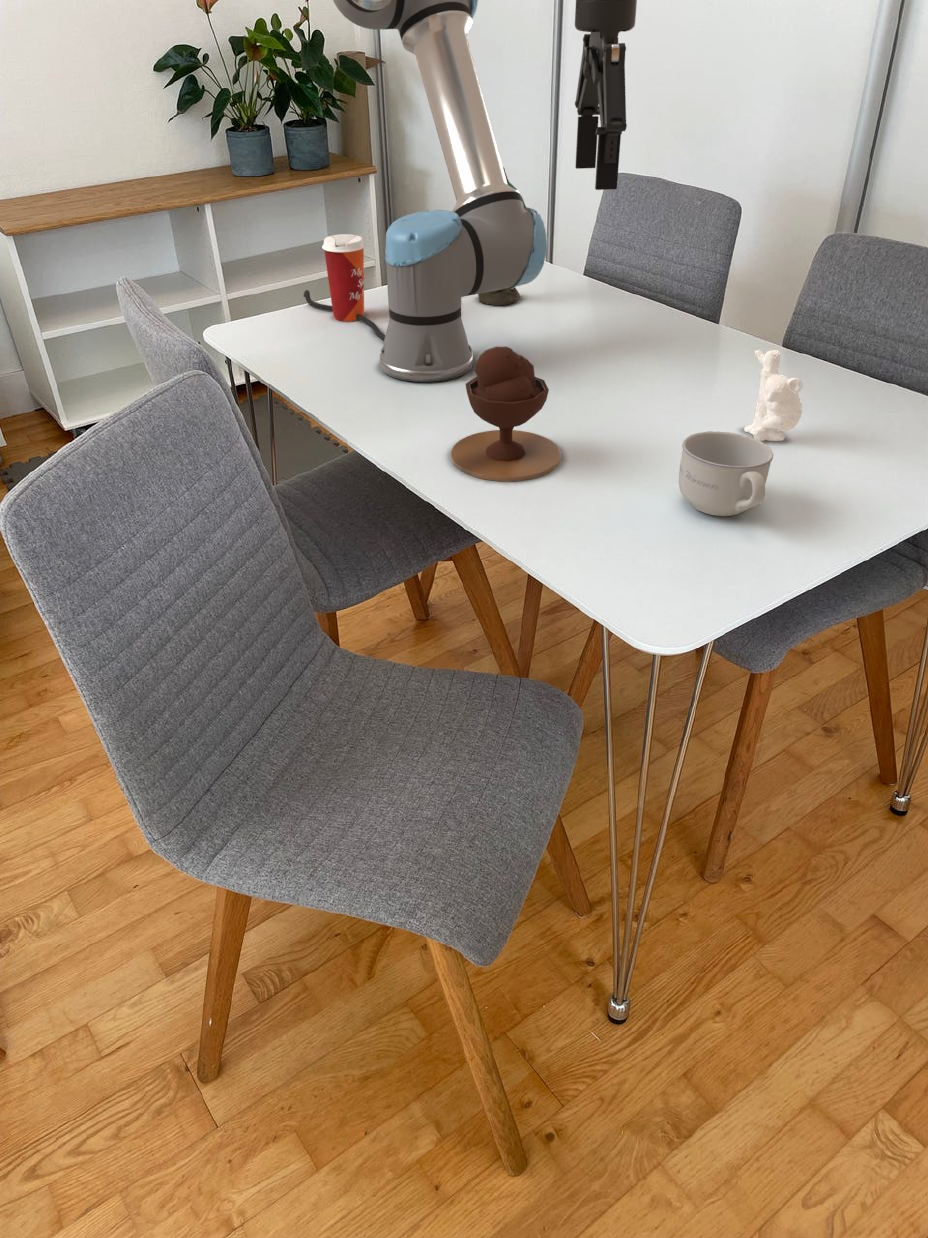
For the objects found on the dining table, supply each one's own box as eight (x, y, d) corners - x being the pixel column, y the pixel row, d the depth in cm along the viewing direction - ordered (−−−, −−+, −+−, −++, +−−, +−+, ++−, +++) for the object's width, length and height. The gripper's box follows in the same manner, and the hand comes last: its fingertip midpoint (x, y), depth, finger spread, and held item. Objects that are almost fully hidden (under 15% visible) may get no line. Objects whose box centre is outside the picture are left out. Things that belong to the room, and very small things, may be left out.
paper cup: (367, 323, 184) (362, 244, 176) (325, 323, 184) (318, 244, 176) (371, 309, 190) (366, 232, 182) (330, 309, 191) (324, 232, 183)
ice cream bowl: (540, 473, 133) (544, 363, 124) (457, 466, 134) (456, 357, 126) (551, 439, 141) (555, 334, 132) (473, 433, 143) (472, 329, 134)
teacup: (665, 486, 130) (672, 429, 126) (747, 482, 131) (757, 425, 126) (695, 541, 119) (703, 480, 114) (784, 536, 120) (796, 476, 115)
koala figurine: (728, 430, 145) (741, 348, 138) (765, 421, 147) (779, 341, 140) (767, 453, 138) (782, 369, 131) (805, 443, 141) (822, 360, 134)
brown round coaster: (428, 460, 137) (428, 456, 137) (496, 424, 147) (496, 420, 146) (516, 492, 129) (516, 488, 129) (581, 452, 139) (582, 448, 139)
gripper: (662, -1, 114) (644, 197, 126) (614, -13, 134) (603, 159, 147) (597, 0, 113) (586, 199, 126) (559, -12, 134) (552, 160, 146)
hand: (595, 178), depth 136 cm, fingers open, 13 cm apart
